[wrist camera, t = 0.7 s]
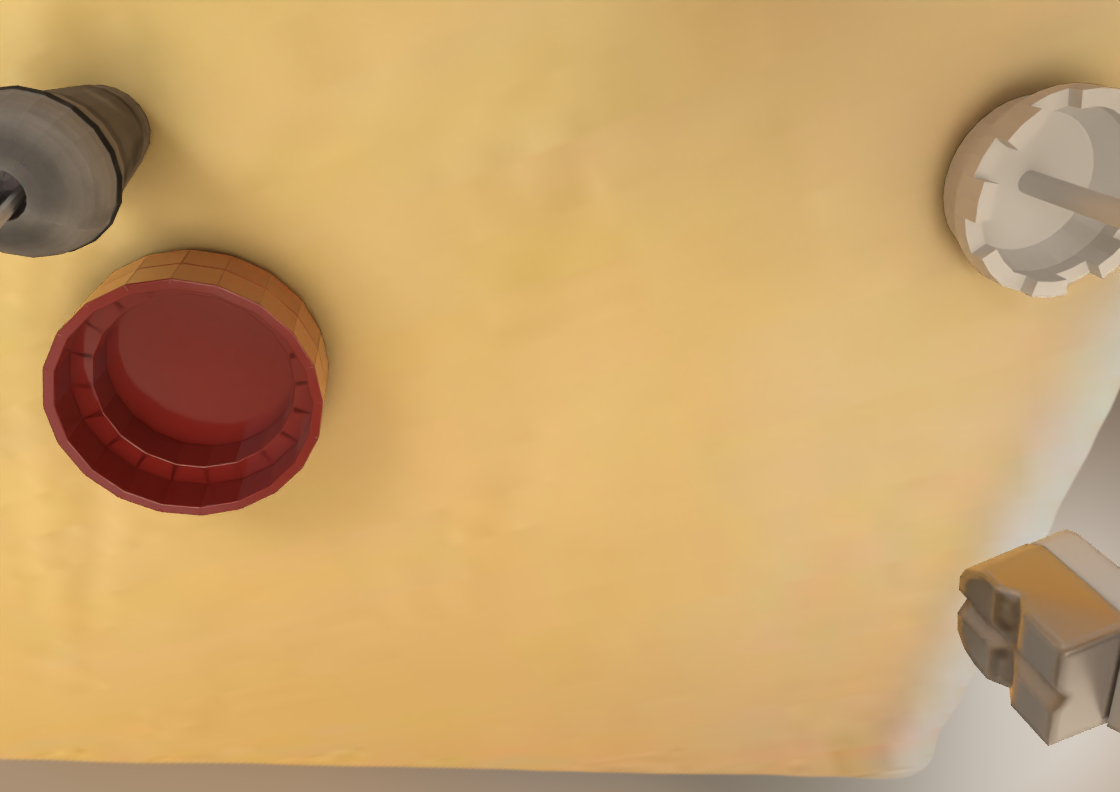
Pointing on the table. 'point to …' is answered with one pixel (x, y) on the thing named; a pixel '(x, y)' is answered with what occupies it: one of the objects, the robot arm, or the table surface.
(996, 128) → the flag stand
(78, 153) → the beverage cup
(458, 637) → the table surface
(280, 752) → the table surface
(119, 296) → the bowl
